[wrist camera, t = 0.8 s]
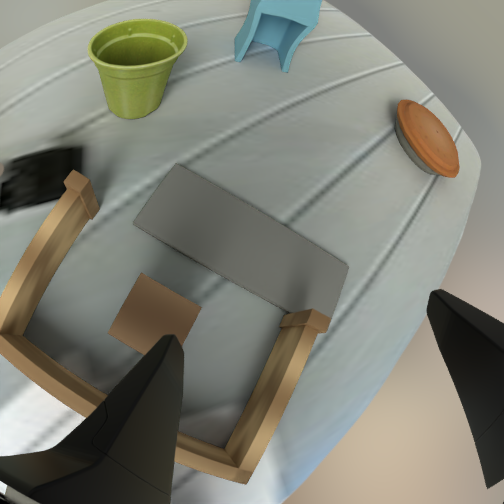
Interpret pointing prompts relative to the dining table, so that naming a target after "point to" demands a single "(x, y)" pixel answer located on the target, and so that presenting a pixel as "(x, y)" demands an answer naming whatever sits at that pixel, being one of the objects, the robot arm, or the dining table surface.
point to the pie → (426, 140)
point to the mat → (242, 244)
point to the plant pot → (136, 63)
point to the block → (152, 315)
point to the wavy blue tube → (277, 26)
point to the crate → (88, 397)
